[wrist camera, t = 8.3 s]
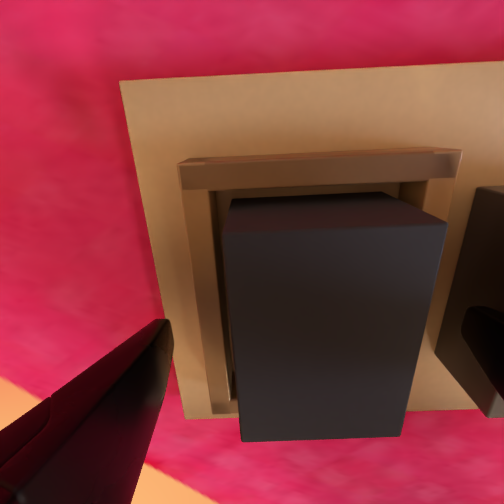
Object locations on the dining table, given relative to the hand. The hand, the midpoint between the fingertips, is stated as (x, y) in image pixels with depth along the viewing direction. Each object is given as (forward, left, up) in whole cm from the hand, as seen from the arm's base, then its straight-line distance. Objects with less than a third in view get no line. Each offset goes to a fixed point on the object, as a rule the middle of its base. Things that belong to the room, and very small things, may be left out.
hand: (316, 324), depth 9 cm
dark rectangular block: (0, 0, -2) cm, 2 cm away
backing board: (0, -4, -4) cm, 5 cm away
